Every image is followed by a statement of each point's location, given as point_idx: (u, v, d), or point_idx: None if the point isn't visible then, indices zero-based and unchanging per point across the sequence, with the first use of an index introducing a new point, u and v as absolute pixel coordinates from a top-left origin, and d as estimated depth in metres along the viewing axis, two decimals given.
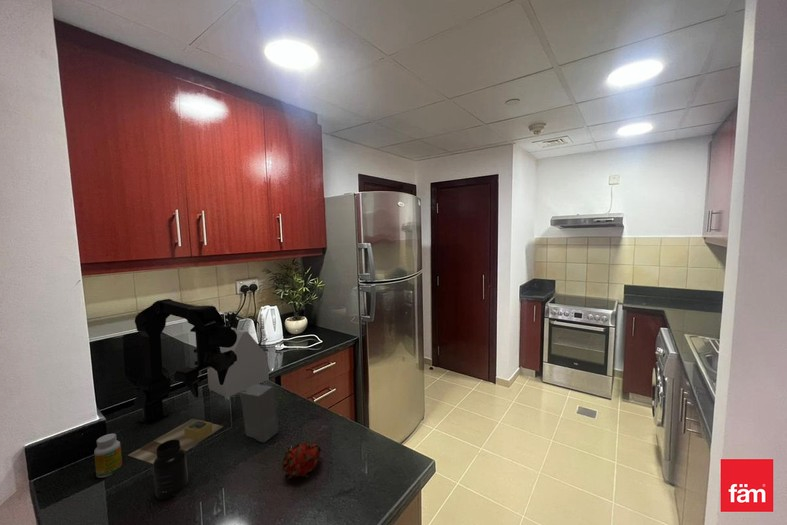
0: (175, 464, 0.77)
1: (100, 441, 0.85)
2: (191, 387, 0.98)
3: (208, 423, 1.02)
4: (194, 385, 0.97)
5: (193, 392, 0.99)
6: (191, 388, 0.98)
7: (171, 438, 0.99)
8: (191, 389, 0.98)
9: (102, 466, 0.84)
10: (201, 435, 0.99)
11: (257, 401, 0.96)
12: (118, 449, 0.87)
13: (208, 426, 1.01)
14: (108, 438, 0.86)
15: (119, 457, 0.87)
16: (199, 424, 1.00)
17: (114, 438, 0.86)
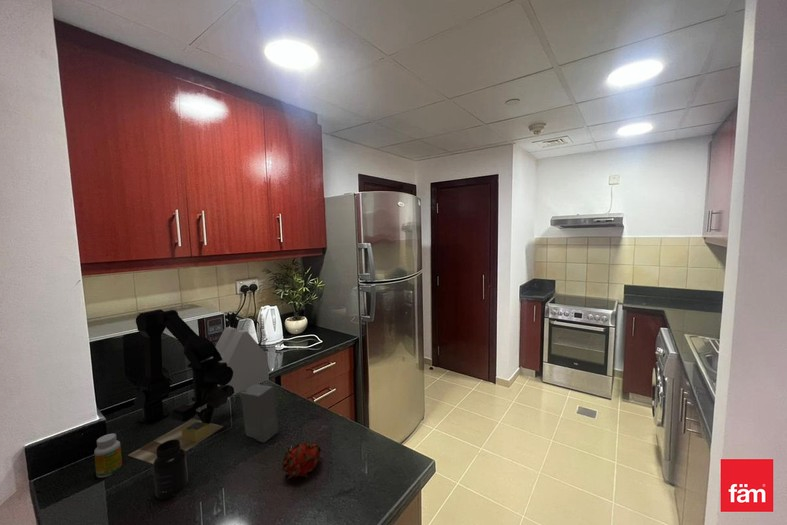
0: (175, 464, 0.77)
1: (100, 441, 0.85)
2: (201, 417, 1.02)
3: (206, 424, 1.01)
4: (204, 415, 1.01)
5: (203, 422, 1.03)
6: (201, 418, 1.02)
7: (171, 438, 0.99)
8: (201, 419, 1.02)
9: (102, 466, 0.84)
10: (199, 437, 0.98)
11: (257, 401, 0.96)
12: (118, 449, 0.87)
13: (206, 427, 1.00)
14: (108, 438, 0.86)
15: (119, 457, 0.87)
16: (197, 425, 0.99)
17: (114, 438, 0.86)
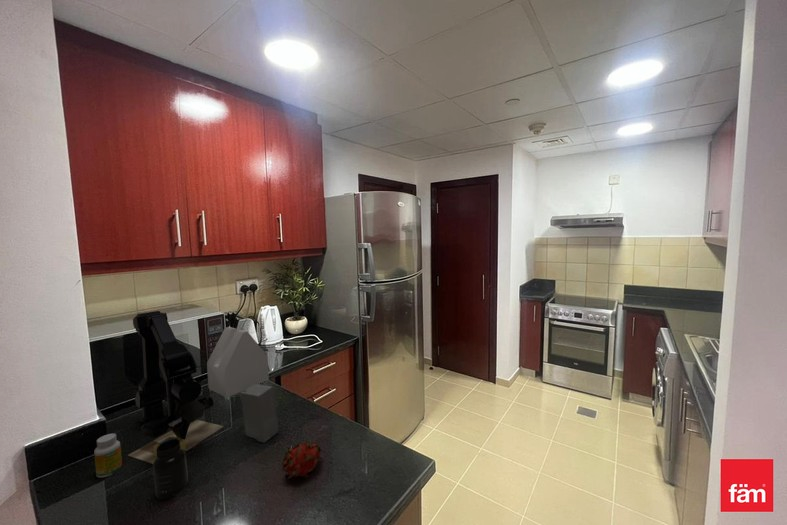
0: (175, 464, 0.77)
1: (100, 441, 0.85)
2: (176, 431, 0.94)
3: (181, 440, 0.93)
4: (179, 430, 0.94)
5: (178, 436, 0.95)
6: (176, 432, 0.95)
7: None
8: (176, 433, 0.95)
9: (102, 466, 0.84)
10: None
11: (257, 401, 0.96)
12: (118, 449, 0.87)
13: (180, 443, 0.92)
14: (108, 438, 0.86)
15: (119, 457, 0.87)
16: None
17: (114, 438, 0.86)
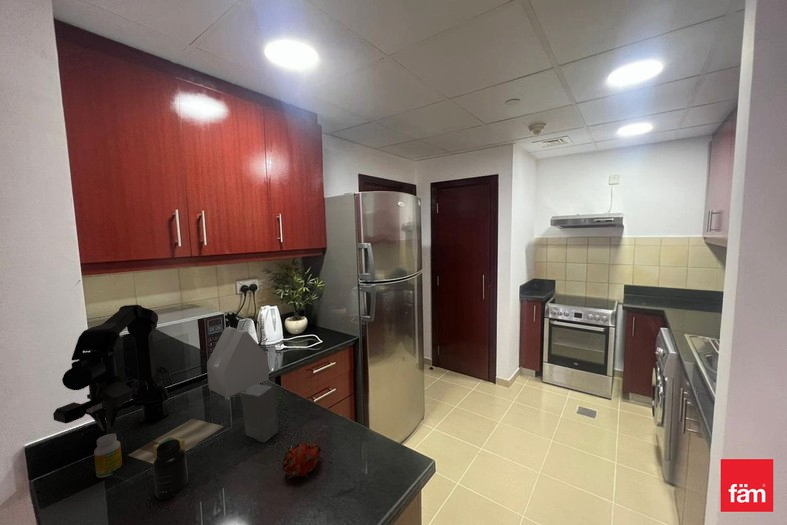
0: (175, 464, 0.77)
1: (100, 441, 0.85)
2: (97, 419, 0.84)
3: (180, 440, 0.93)
4: (100, 417, 0.83)
5: (100, 425, 0.85)
6: (97, 420, 0.84)
7: None
8: (97, 421, 0.84)
9: (102, 466, 0.84)
10: None
11: (257, 401, 0.96)
12: (118, 449, 0.87)
13: (180, 443, 0.92)
14: (108, 438, 0.86)
15: (119, 457, 0.87)
16: None
17: (114, 438, 0.86)
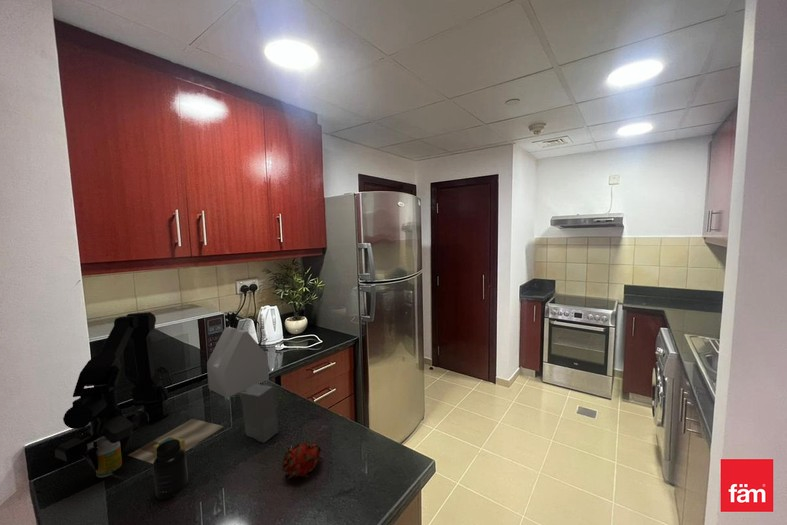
0: (175, 464, 0.77)
1: (100, 441, 0.85)
2: (88, 458, 0.83)
3: (180, 440, 0.93)
4: (91, 457, 0.82)
5: (91, 464, 0.83)
6: (88, 460, 0.83)
7: None
8: (88, 461, 0.83)
9: (102, 466, 0.84)
10: None
11: (257, 401, 0.96)
12: (118, 449, 0.87)
13: (180, 443, 0.92)
14: None
15: (119, 457, 0.87)
16: None
17: None
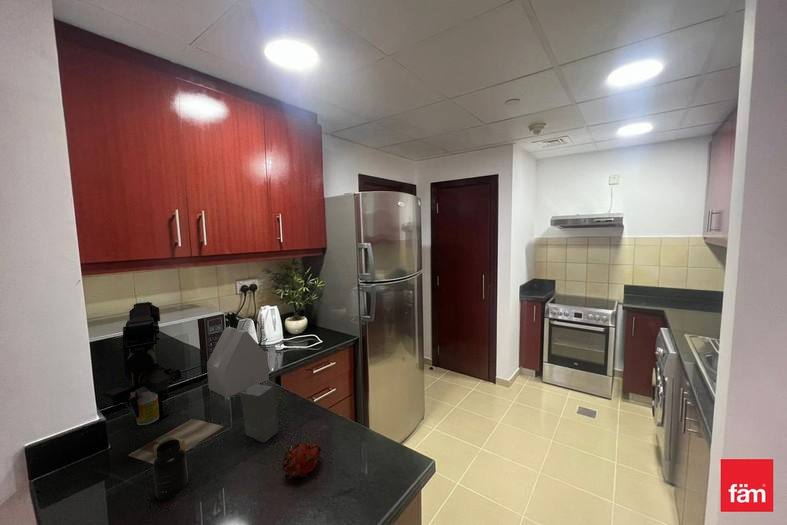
0: (175, 464, 0.77)
1: (140, 392, 0.92)
2: (130, 407, 0.90)
3: (180, 440, 0.93)
4: (133, 405, 0.89)
5: (133, 412, 0.91)
6: (130, 408, 0.90)
7: None
8: (130, 409, 0.90)
9: (142, 414, 0.91)
10: None
11: (257, 401, 0.96)
12: (156, 400, 0.94)
13: (180, 443, 0.92)
14: (147, 390, 0.93)
15: (157, 408, 0.94)
16: None
17: None
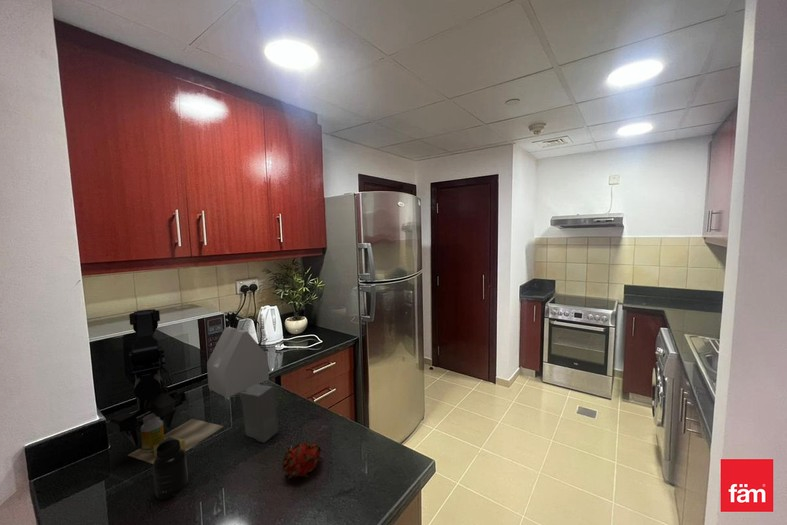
0: (175, 464, 0.77)
1: (146, 419, 0.93)
2: (129, 435, 0.89)
3: (180, 440, 0.93)
4: (132, 433, 0.89)
5: (132, 440, 0.90)
6: (129, 436, 0.90)
7: None
8: (129, 437, 0.90)
9: (148, 441, 0.92)
10: None
11: (257, 401, 0.96)
12: (161, 427, 0.95)
13: (180, 443, 0.92)
14: (152, 417, 0.94)
15: (162, 434, 0.96)
16: None
17: (158, 417, 0.95)
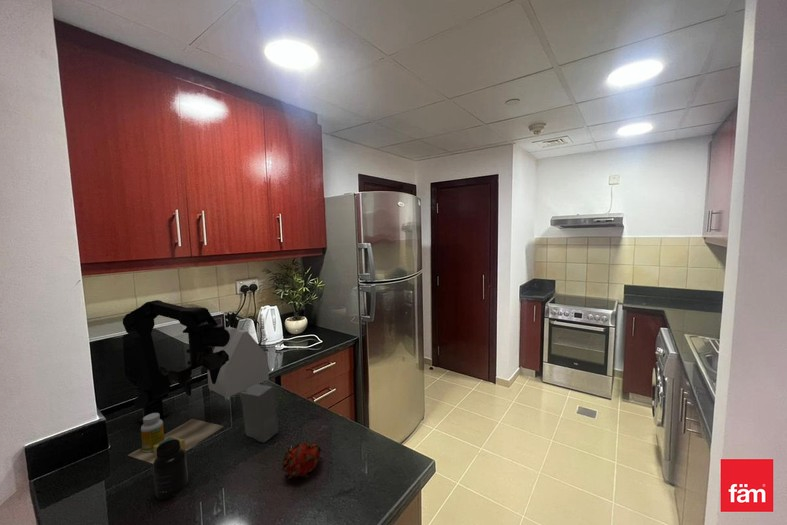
0: (175, 464, 0.77)
1: (146, 419, 0.93)
2: (184, 386, 1.02)
3: (180, 440, 0.93)
4: (187, 384, 1.01)
5: (186, 391, 1.03)
6: (184, 387, 1.02)
7: None
8: (184, 388, 1.02)
9: (148, 441, 0.92)
10: None
11: (257, 401, 0.96)
12: (161, 427, 0.95)
13: (180, 443, 0.92)
14: (152, 417, 0.94)
15: (162, 434, 0.96)
16: None
17: (158, 417, 0.95)
